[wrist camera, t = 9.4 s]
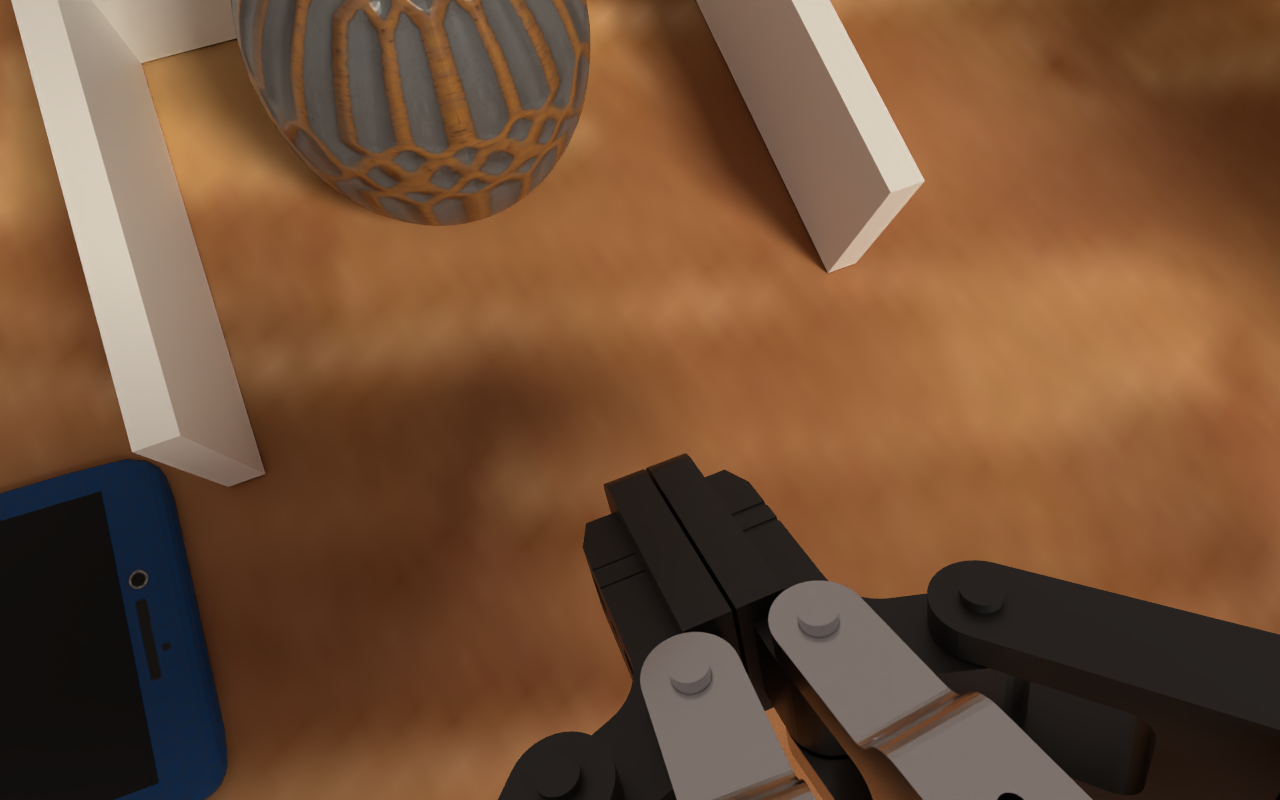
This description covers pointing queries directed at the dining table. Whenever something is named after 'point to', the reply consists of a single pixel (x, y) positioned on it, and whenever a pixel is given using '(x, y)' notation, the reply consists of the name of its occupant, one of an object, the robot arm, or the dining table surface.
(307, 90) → the vase
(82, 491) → the cell phone
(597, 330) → the dining table surface
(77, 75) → the frame
